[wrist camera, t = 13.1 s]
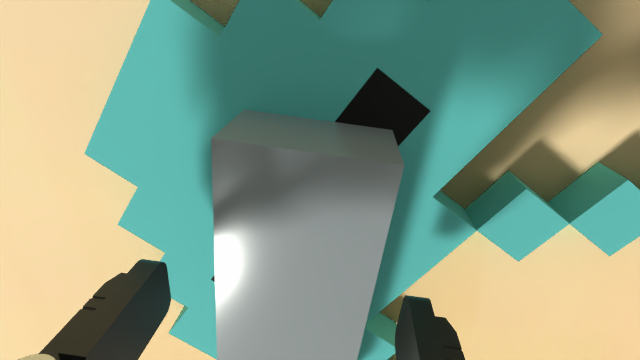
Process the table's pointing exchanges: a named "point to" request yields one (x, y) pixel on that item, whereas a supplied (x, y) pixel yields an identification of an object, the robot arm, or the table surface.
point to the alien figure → (357, 109)
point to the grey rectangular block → (298, 234)
